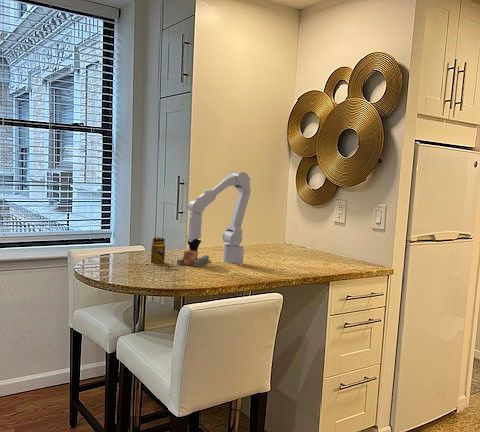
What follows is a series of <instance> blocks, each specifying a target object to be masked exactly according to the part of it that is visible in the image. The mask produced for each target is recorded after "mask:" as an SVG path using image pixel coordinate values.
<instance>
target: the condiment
mask: <svg viewBox="0 0 480 432" xmlns="http://www.w3.org/2000/svg"><path fill="white" fill-rule="evenodd" d="M165 242H166V241H165V238H164V237H153V238H152V243H151V248H150V249H151V250H150V251H151V252H150V253H151V254H150V263H151V264H150V265H149V263H146V264H145V266H152V267H153V266H154V267H156V265H157V267H160V265H161V264H162V265H163V264H164V263H165V257H166V256H165V253H166V243H165Z"/></svg>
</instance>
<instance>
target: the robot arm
mask: <svg viewBox="0 0 480 432" xmlns="http://www.w3.org/2000/svg"><path fill="white" fill-rule="evenodd" d="M250 182H251V177H250V176H249V174H248V173H247V172H243V171H241V172H240V171H232V172H231V173H229V174H227V175H226V176H225V177H224V178H223V179H222V180H221V181H219V182H218V184H216V185H215V186H214V187H212V189H205V190H203V191H202V192H203V193H201V195H199V196H197V197H195V199H193V200H191V201H190V202H189V204H188V205H187V209H188V211H189V216H188V217H189V220H188V232H187V233H188V234H185V237H187V240H186V241H187V244H188V248H189V250H194V251H198V249H199V246H200V245H201V244H202V240H201V238H202V224H203V223H202V219H203V212H204V211H205V209H206V208H207V207H208V206H209V205H211V204H212V203H213V202H214V201H215V200H216V198H217V196H218V195H219V194H220V193H222V192H223V191H224V190H225V189H227V188H228V187H234V188H235V189H236V190H237V192H238V194H237V198H236V201H235V205H234V209H233V212H232V216H231V218H230V223H229V224H228V225H227V226H226V228H225V230H224V232H223V233H222V236H221V237H222V240H223V242H224V243H223V244H224V245H223V259H222V261H223V262H224V263H227V264H236V265H238V266H241V265H243V264H244V254H245V252H244V251H245V249H244V246H243V245H241V243H242V242H243V229H242V224H243V221H244V216H245V213H246V209H247V206H248V203H249V201H250V200H249V199H250V195H251V192H252V191H251V190H252V189H251V183H250Z"/></svg>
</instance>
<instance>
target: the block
mask: <svg viewBox="0 0 480 432" xmlns="http://www.w3.org/2000/svg"><path fill="white" fill-rule="evenodd" d="M183 257H184V262H183V265H182V266H187V265H189V266H190V265H191V267H193V262H194V261H195V260H197V259H199V251H198V250H197V251H194V250H190V249H186V250H184V252H183Z"/></svg>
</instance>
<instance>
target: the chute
mask: <svg viewBox="0 0 480 432" xmlns="http://www.w3.org/2000/svg"><path fill="white" fill-rule="evenodd" d="M209 257H210V256H209V255H208V254H204V255H202V256H201V257H198V259H197V260H195V261H194V262H193V266H192V265H186V267H188V266H189V267H193V268H199V267H201V266H202V265H203V264H205V263H207V262H208V261H209ZM183 262H184V256H182V257H179V258H177V261H176V265H177V266H184V265H183Z"/></svg>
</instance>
